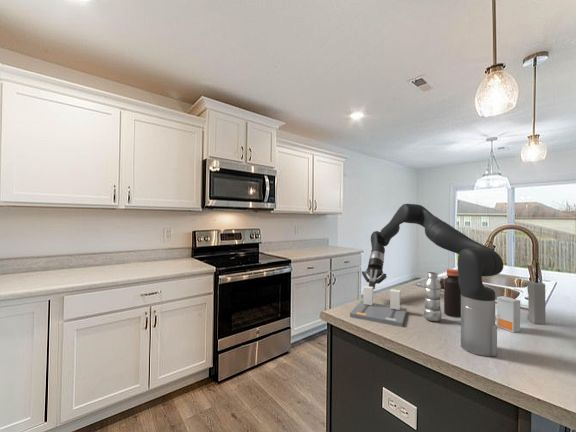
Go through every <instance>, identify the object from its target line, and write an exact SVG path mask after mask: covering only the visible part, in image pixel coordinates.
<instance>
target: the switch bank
mask: <svg viewBox="0 0 576 432" xmlns="http://www.w3.org/2000/svg"><path fill="white" fill-rule="evenodd" d="M407 310H408V309H407V307H401V306H400V310H397V309H391V308H390V304H389V305H388V304H382V303H376V302H373V305H367V304H363V300H360V301H359V303H358V304H356V306H355V307H354V308H353V309H352V310H351V312H350V313H349V318H354V319H359V320H365V321H369V322H376V323H380V324H386V325H391V326H395V327H396V326H397V327H401V328H402V327H403V326H404V322H405V318H406V315H407V312H408V311H407Z"/></svg>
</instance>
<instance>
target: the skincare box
mask: <svg viewBox="0 0 576 432" xmlns="http://www.w3.org/2000/svg"><path fill="white" fill-rule="evenodd" d="M496 297H497V298H496V326H497V328H500V329H503V330H506V331H508V332H511V333H513V334H514V333H517V332H520V331H521V300H520V299H516V298H514V297H513V298H512V297H508V296H504V295H501V296H496Z"/></svg>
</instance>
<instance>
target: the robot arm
mask: <svg viewBox="0 0 576 432" xmlns="http://www.w3.org/2000/svg"><path fill="white" fill-rule="evenodd" d="M404 223H406V224H414V225H415V224H416V225H419V226H421V227H423V228H424V234H425V236H426V238H427V239H428V240H429V241H431V242H432V243H433V244H434V245H436V246H438V247H439V248H441V249H443V250H446V251H449V252H452V253H454V254H456V255H457V254H458V255H457V270H458V282H459V286H460V289H461V317H460V347H461V348H462V349H463V350H465V351H467V352H469V353H472V354H475V355H478V356H481V357H482V356H483V357H498V327H497V323H496V291H495V290H494V289H493V288H491V287H487V286H485V285H484V284H483V278H482V277H494V276H496V275H499V274H501V272H502V271H503V270H504V262H503V261H504V260H503V259H502V257H501V255H500V254H499V253H498V252H497V251H496V250H494V249H492V248H490V247H488V246H487V245H484V244H482V243H480V242H478V241H476V240H474V239H473V238H471V237H469V236H468V235H466V234H464V233H463V232H461V231H459V230H457V228H455V227H453V226H451V224H449V223H447V222H446V221H444V220H442V219H440V218H439V217H438V216H436V215H434V214H433V213H432V212H431V211H429V210H428V209H427V208H426V207H425V206H423V205H422V204H421V205H420V204H417V203H416V204H415V203H403V204H402V205H401V206H400V207H399V208H398V209H397V211H396V212H395V213H394V215H393V216H392V217H391V220H390V221H389V222H388V223H387V224H386V225H385V226H384V227H383V228H381V229H380V231H378V230H375V231H372V233H371V235H370V243H371V244H370V245H371V250H370V254H369V259H368V263H367V268H366V270H365V271H364V270H363V271H361V274H362V277H363V278H364V280H365V282H366V283H368V286H370V287H373V290H375V289H376V285H377V284H381V283H382V282H383V281H384V280H386V279H387V274H386V273H385V272H384V270H383V268H384V262H385V254H386V253H385V252H386V249H385V247H388V245H389V244H390V242H391V240H392V238H393V237H395V236H396V235H397V234H398V233H399V231H400V229H401V227H400V225H402V224H404ZM367 275H368V276H367Z"/></svg>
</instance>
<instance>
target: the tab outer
mask: <svg viewBox="0 0 576 432" xmlns="http://www.w3.org/2000/svg"><path fill="white" fill-rule="evenodd" d="M362 301H363V304H367V305H373V303H374V289H373V287H370V286H369V285H364V286H363V299H362Z"/></svg>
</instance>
